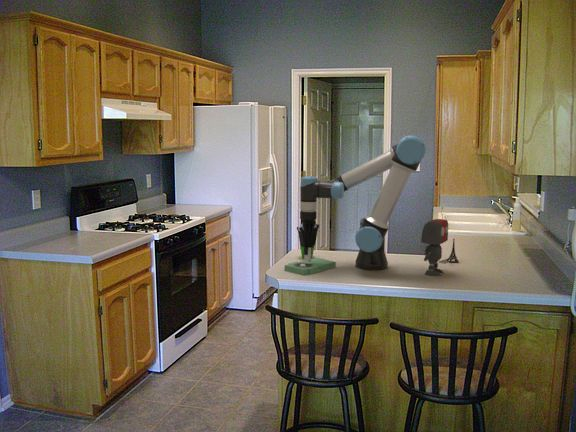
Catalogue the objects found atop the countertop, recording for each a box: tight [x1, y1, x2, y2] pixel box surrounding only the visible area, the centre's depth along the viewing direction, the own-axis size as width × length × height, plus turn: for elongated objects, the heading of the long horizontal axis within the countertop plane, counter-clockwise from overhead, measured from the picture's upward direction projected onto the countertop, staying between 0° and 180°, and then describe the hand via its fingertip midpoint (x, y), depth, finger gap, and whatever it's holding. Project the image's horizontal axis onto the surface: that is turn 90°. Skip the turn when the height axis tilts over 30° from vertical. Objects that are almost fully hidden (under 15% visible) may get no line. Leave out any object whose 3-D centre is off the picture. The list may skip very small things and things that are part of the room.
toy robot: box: [420, 207, 449, 277], centre depth 253 cm, size 22×9×30 cm, turn 148°
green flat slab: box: [284, 257, 337, 276], centre depth 262 cm, size 22×14×2 cm, turn 135°
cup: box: [300, 245, 315, 260], centre depth 283 cm, size 9×9×11 cm
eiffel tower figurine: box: [438, 238, 460, 267], centre depth 277 cm, size 15×10×13 cm
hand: (307, 261), depth 260 cm, fingers closed
